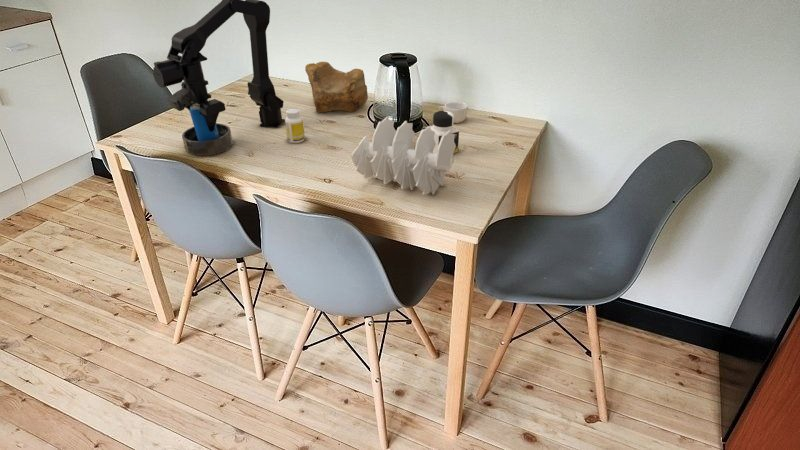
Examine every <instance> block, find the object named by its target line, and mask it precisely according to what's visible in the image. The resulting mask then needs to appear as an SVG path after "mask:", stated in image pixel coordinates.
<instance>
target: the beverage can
mask: <svg viewBox="0 0 800 450" xmlns="http://www.w3.org/2000/svg"><path fill="white" fill-rule="evenodd" d="M199 107H200V105H196V104H193V105H191V106H190V108H191V109H190V111H189V114H190V118H191V121H192V124H193V127H194V128H195V131H196V135H197V138H198V141H209V140H214V139H217V138H220V136H219V132H218V129H217V125H216V124H215V128H214V131H212V132H210V130H209V128H208V126H207V123H206V120H205V117H204V116H202V115H201V114H199V113H200V112H201V111H200V108H199Z"/></svg>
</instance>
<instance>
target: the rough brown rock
mask: <svg viewBox="0 0 800 450" xmlns="http://www.w3.org/2000/svg"><path fill="white" fill-rule="evenodd" d="M304 70H305V73H306V75H307V78H308V82H309V84H310V86H311V87H310V88H311V92H312V99H313V104H314V107H315V112H317V113H326V112H330V111H343V112H350V113H351V112H355V111H357V110H358V109H361V108H362V107H363V106H365V105H366V104H367V101H368V98H369V94H368V86H367V84H366V79H365V78H366V77H365V73H364V70H363V69H360V68H353V69H351V70H349V71H346V72H344V71H342V70H339V69H336V68H334V67H333V66H332V65H331V64H330V63H329V62H328V61H318V62H316V63H314V62H312V63H307V64H306V65H305V69H304Z"/></svg>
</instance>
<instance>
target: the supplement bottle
mask: <svg viewBox="0 0 800 450" xmlns="http://www.w3.org/2000/svg"><path fill="white" fill-rule="evenodd" d="M285 113H286V117H285V118H284V120H285V121H284V122H285V129H286V137H287V141H288V142H289V143H292V144H298V143H299V144H300V143H302V142H304V141H305V137H306V136H305V128H304V119H303V117H302V116H300V113H301V112H300V109H298V108H289V109H287V110H286V112H285Z"/></svg>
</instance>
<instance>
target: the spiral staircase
mask: <svg viewBox="0 0 800 450" xmlns="http://www.w3.org/2000/svg"><path fill="white" fill-rule="evenodd" d="M413 124H414V123H413V122H408V120H404V121H403V123H401V125H400V126H398V127H397V129H395V127H394V126H395V120H391V119H389V116H386V117H385V118H384V119H382V120H380V121H378V122H377V124H376V127H375V130H374V132H373V134H372V140H371V142H370V141H369V138H368V135H367V134H366V135H364V136H363V138H362V139H361V140H360V142H359V144H357V145H356V147H355V148H354V150H353V151H352V153H351V154H350V157H351V159H352V162H353V165H354V167H355V171H356V172H357V173H359V174H360V175H362V176H363V179H364V180H366V179H368V178H369V179H370V178H371V177H373V179H376V178H377V179H379V180H381V181H383V185H386V184H387V185H388V183H390V182H392V181H393V183H396V182H397V183H398V184H399V185H400V186H401V187H400V189H401V190H405V189H408V188H410V190H411V191H413V190H414V189H415V187H416V188H417V189H418V190H420V191H422V196H425V195H427V194H429V193H431V195H434V194H435V193H436V191H437V189H439V186H443V184H444V182H445V178H446V174H447V173H449V172H451V169H452V166H453V164H454V154H455V153H454V150H455V148H456V145H455V143H454V137H455V134H451V130H448V131H447V133H446V134H445V135H442V138H441V140H440V143H439V145H438V148H437V154H436V153H433V150H434V148H435V145H436V143H435V141H434V134H435V132H434V131H432V130H431V126H432V125H428V126H426V127H425V128H424V129H423V128H421V130H420V133H419V134H418V137H417V139H416V141H415V143H414V139H415V137H416V132H415V131H414V130H413Z"/></svg>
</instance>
